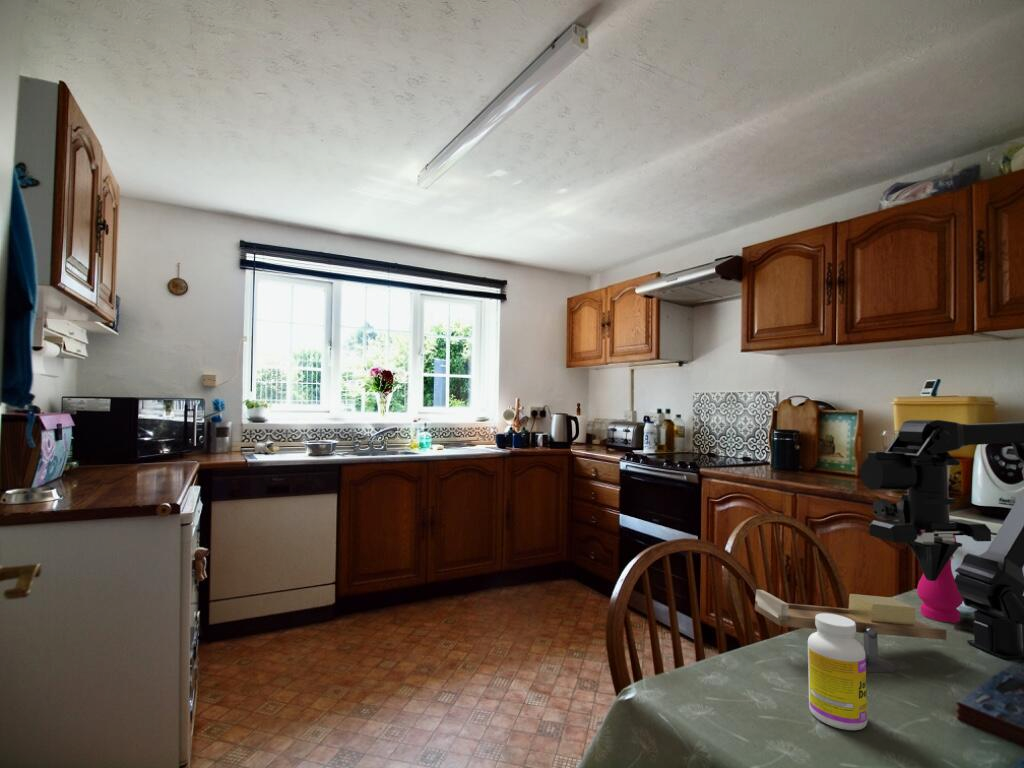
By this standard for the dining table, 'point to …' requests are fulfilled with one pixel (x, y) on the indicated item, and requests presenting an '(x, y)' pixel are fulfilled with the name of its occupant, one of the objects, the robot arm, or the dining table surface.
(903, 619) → the brass rider
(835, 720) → the supplement bottle
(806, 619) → the balance beam
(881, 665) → the stand
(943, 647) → the dining table surface
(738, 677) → the dining table surface
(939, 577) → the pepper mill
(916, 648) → the dining table surface
